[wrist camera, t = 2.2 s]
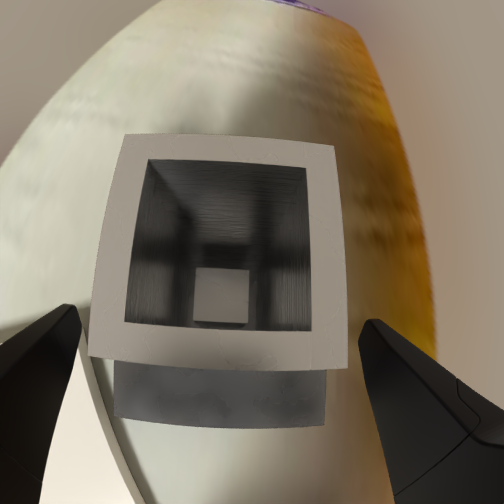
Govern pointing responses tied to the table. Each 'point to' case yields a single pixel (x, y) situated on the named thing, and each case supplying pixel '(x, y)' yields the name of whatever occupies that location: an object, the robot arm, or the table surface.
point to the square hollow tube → (222, 252)
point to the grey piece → (219, 372)
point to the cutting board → (86, 447)
